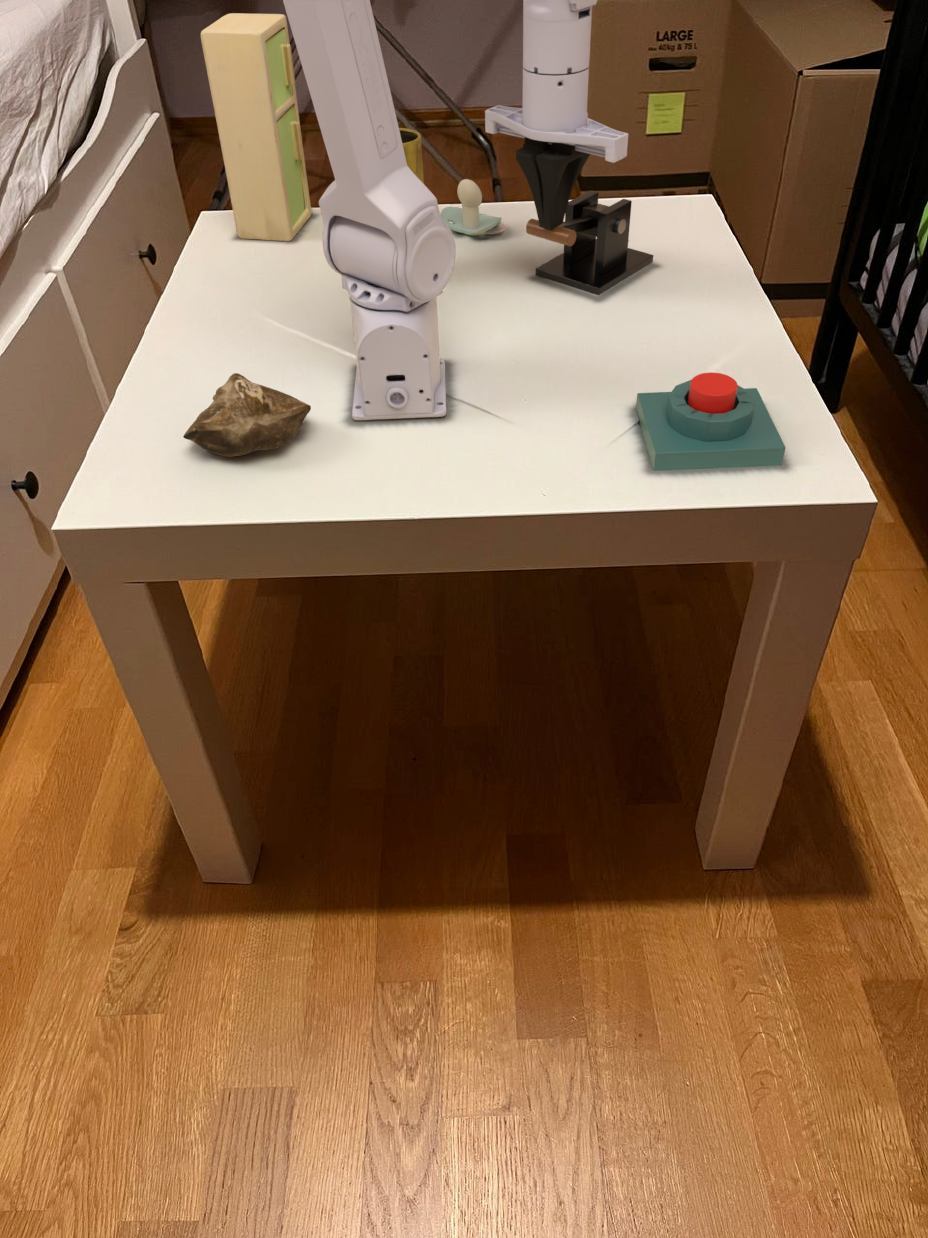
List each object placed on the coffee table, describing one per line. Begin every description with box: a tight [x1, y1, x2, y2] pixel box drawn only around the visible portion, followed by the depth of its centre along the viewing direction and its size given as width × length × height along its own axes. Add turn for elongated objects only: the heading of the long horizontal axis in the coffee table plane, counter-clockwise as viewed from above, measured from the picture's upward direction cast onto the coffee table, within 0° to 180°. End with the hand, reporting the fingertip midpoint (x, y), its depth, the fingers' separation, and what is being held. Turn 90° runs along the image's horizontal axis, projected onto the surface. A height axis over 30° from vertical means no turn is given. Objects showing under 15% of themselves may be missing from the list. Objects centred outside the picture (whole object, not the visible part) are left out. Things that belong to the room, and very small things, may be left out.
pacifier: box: [440, 178, 506, 237], centre depth 109 cm, size 7×6×6 cm
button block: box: [635, 379, 786, 472], centre depth 78 cm, size 9×10×4 cm
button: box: [688, 371, 739, 414], centre depth 76 cm, size 4×4×2 cm
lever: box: [525, 203, 610, 246], centre depth 96 cm, size 10×5×2 cm, turn 139°
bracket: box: [535, 190, 654, 296], centre depth 100 cm, size 10×8×7 cm
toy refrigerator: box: [200, 12, 312, 242], centre depth 107 cm, size 8×7×21 cm
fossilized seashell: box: [183, 372, 312, 457], centre depth 79 cm, size 8×7×10 cm
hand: (551, 224), depth 93 cm, fingers closed, pressing on lever
